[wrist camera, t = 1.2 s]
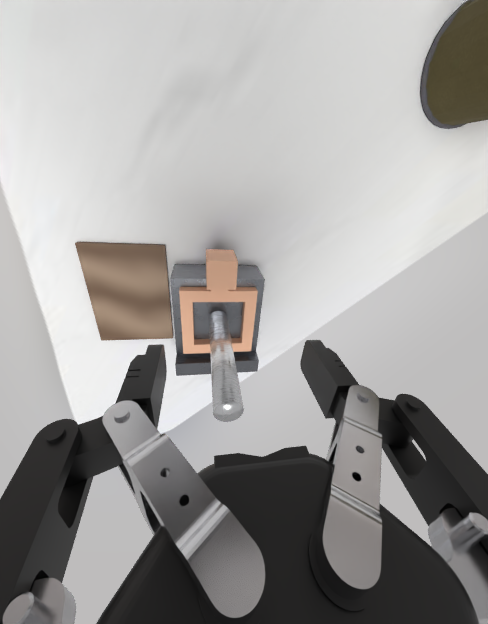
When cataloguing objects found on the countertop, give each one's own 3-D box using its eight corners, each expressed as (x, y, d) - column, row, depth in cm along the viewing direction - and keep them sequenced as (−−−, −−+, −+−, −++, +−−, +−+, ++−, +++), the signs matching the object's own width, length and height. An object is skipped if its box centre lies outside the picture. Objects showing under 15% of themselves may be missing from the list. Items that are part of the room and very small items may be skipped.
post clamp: (174, 264, 32) (146, 361, 15) (256, 265, 34) (308, 354, 17) (181, 353, 39) (166, 482, 23) (247, 350, 41) (278, 468, 25)
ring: (177, 248, 26) (173, 260, 22) (259, 250, 27) (267, 262, 24) (183, 348, 33) (181, 368, 29) (249, 345, 34) (254, 365, 31)
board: (77, 241, 29) (74, 243, 28) (165, 244, 30) (164, 245, 30) (102, 337, 36) (101, 340, 35) (173, 335, 37) (172, 338, 37)
